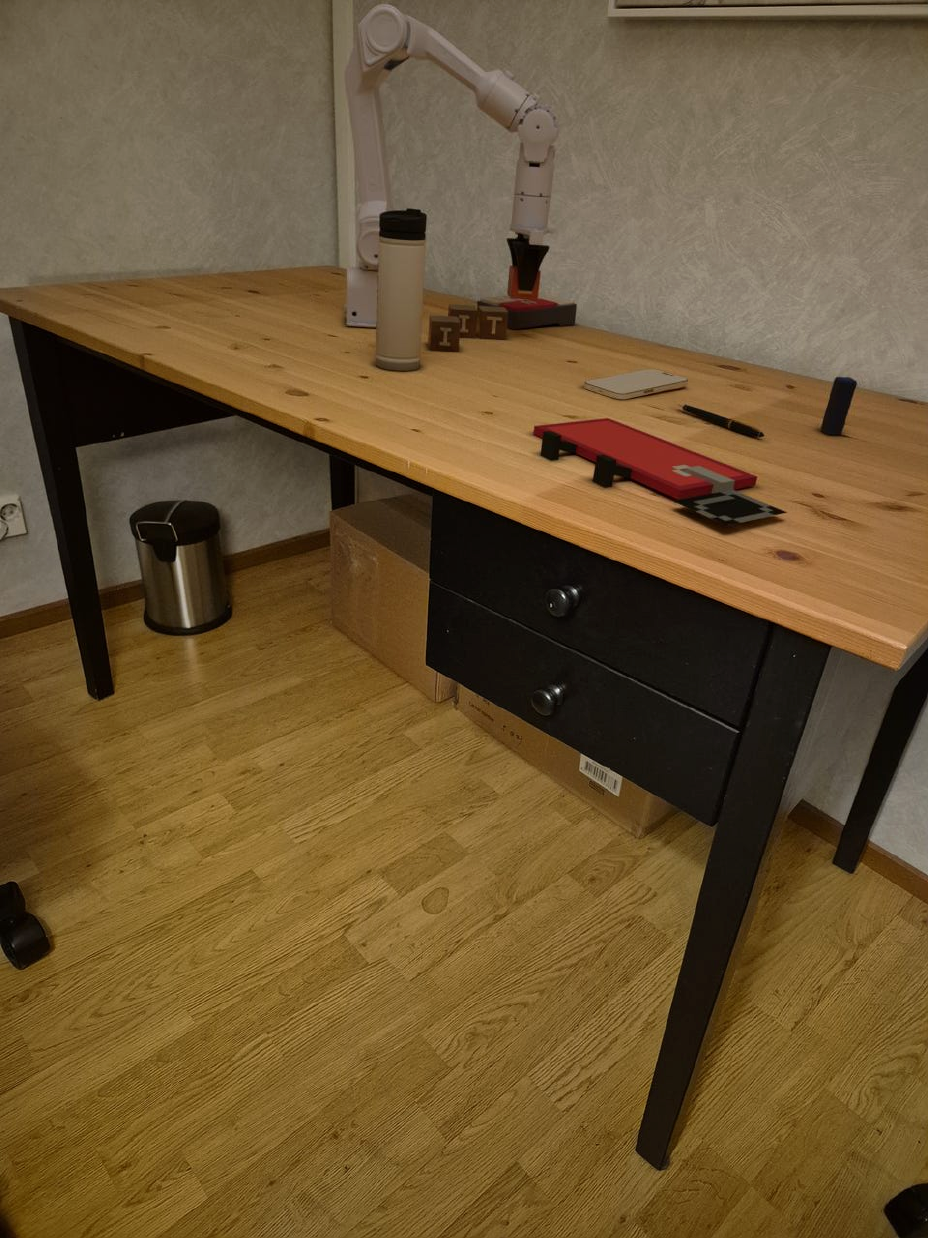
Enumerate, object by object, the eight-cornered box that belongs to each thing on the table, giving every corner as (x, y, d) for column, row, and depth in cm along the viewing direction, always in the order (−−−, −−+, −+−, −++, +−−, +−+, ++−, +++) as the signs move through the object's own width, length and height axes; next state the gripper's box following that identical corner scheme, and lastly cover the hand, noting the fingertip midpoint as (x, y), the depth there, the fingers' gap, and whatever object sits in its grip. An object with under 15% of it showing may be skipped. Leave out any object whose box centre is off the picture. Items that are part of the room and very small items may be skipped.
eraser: (818, 430, 108) (833, 375, 105) (835, 431, 109) (851, 376, 105) (825, 435, 107) (841, 380, 103) (842, 436, 107) (859, 381, 103)
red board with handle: (709, 539, 75) (816, 514, 83) (717, 508, 73) (824, 487, 81) (506, 441, 96) (606, 429, 104) (509, 416, 95) (609, 406, 103)
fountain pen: (670, 409, 112) (673, 397, 111) (677, 408, 113) (679, 396, 112) (760, 441, 102) (763, 429, 101) (766, 440, 103) (769, 428, 102)
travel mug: (428, 365, 123) (436, 211, 113) (406, 373, 118) (413, 212, 108) (390, 358, 125) (395, 206, 115) (367, 366, 120) (370, 207, 110)
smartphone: (581, 381, 118) (651, 367, 127) (580, 389, 119) (649, 375, 127) (621, 394, 113) (691, 379, 122) (620, 403, 114) (690, 387, 123)
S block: (511, 298, 139) (513, 269, 137) (506, 293, 143) (509, 265, 140) (537, 300, 139) (541, 271, 137) (533, 295, 143) (536, 267, 141)
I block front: (430, 350, 131) (431, 320, 129) (428, 344, 135) (429, 315, 133) (458, 352, 132) (460, 322, 130) (455, 345, 136) (457, 316, 134)
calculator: (476, 296, 156) (538, 289, 164) (475, 321, 158) (536, 312, 166) (515, 307, 149) (578, 299, 157) (514, 333, 151) (576, 324, 159)
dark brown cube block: (449, 336, 141) (451, 308, 139) (447, 331, 145) (448, 303, 143) (476, 338, 142) (478, 310, 140) (472, 332, 146) (474, 305, 144)
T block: (479, 338, 142) (481, 310, 140) (476, 332, 146) (478, 305, 144) (505, 339, 143) (508, 312, 140) (501, 334, 146) (504, 307, 144)
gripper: (567, 200, 128) (555, 296, 134) (548, 193, 140) (539, 282, 147) (520, 197, 127) (511, 294, 134) (506, 190, 139) (498, 279, 146)
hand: (523, 287), depth 140 cm, fingers closed on S block, 4 cm apart
